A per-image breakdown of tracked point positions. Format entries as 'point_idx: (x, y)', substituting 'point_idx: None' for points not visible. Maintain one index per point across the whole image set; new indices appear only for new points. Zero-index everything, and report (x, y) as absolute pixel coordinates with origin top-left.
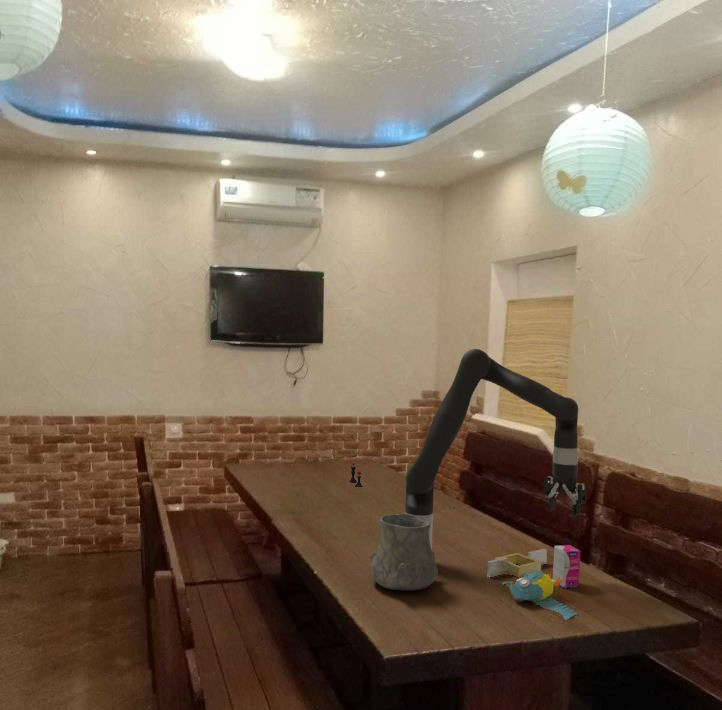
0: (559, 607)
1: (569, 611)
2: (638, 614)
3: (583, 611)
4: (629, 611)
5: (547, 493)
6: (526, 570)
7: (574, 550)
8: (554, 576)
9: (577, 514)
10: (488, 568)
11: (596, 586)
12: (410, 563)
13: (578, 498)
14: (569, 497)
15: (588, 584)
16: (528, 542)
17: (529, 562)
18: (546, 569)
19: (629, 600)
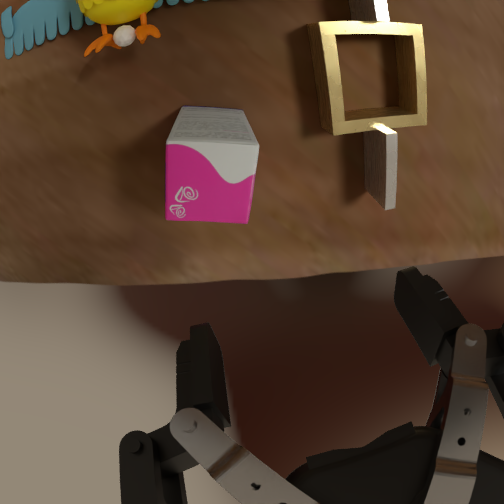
0: (51, 17)
1: (27, 35)
2: (6, 205)
3: (27, 77)
4: (19, 195)
5: (500, 344)
6: (319, 60)
7: (174, 197)
8: (232, 111)
9: (184, 351)
10: None
11: None
12: None
13: (148, 473)
14: (242, 451)
15: None
16: (469, 244)
17: (365, 115)
18: (336, 162)
19: (75, 236)
